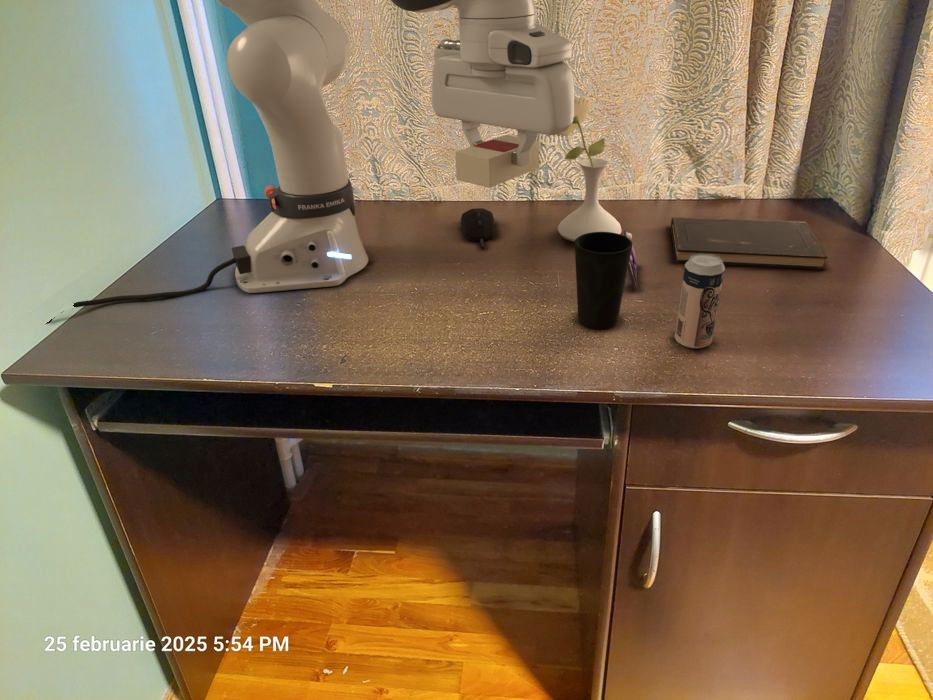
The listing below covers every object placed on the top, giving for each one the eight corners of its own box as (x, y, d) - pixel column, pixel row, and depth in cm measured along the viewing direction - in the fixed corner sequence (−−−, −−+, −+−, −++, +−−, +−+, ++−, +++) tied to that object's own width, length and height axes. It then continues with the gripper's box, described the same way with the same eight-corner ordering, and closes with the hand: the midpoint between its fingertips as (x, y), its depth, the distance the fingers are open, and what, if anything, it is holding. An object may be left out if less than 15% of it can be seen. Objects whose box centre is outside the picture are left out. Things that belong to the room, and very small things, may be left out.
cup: (591, 338, 91) (597, 258, 85) (560, 315, 97) (563, 238, 91) (636, 324, 94) (644, 245, 88) (602, 303, 100) (608, 227, 94)
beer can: (705, 354, 87) (720, 270, 80) (669, 345, 89) (681, 263, 83) (715, 337, 90) (730, 256, 84) (680, 329, 92) (692, 249, 86)
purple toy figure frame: (630, 250, 99) (630, 228, 107) (596, 259, 101) (598, 237, 109) (641, 289, 102) (640, 265, 110) (608, 297, 104) (609, 273, 112)
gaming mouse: (465, 250, 119) (464, 228, 117) (460, 220, 131) (459, 201, 129) (500, 247, 119) (500, 226, 117) (491, 218, 132) (491, 199, 130)
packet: (489, 188, 81) (489, 157, 80) (456, 180, 85) (455, 150, 83) (539, 168, 88) (539, 139, 86) (506, 161, 91) (506, 133, 89)
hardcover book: (824, 269, 107) (827, 256, 105) (675, 262, 111) (677, 249, 110) (802, 232, 120) (805, 220, 119) (670, 227, 124) (672, 215, 123)
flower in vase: (600, 222, 128) (610, 84, 114) (633, 243, 118) (647, 96, 105) (538, 233, 124) (541, 92, 111) (567, 256, 115) (574, 105, 102)
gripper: (416, 41, 82) (424, 153, 89) (551, 51, 70) (548, 180, 77) (451, 35, 86) (456, 143, 93) (584, 43, 74) (578, 167, 81)
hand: (499, 160), depth 85 cm, fingers closed on packet, 5 cm apart
